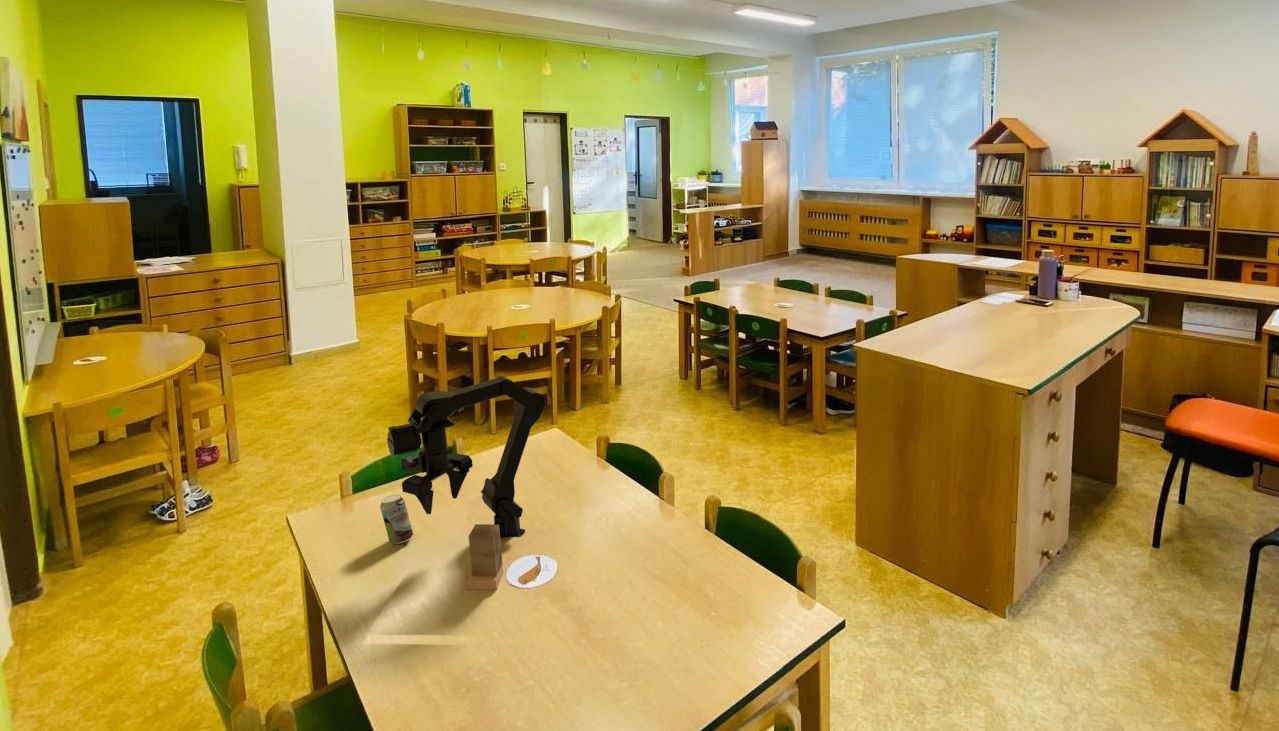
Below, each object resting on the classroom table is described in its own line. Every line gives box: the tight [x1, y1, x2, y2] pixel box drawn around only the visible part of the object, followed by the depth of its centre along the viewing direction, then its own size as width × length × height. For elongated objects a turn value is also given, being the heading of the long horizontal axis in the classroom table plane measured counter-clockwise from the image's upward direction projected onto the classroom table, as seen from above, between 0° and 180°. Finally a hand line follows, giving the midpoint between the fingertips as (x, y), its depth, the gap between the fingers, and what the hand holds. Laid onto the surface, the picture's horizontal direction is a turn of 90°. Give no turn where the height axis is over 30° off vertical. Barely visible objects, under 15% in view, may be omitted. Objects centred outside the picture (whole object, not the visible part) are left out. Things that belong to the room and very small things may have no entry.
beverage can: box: [379, 494, 414, 545], centre depth 195 cm, size 6×7×12 cm
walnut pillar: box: [468, 523, 503, 576], centre depth 173 cm, size 6×6×10 cm
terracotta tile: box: [464, 563, 504, 591], centre depth 174 cm, size 7×7×2 cm
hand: (441, 505), depth 186 cm, fingers open, 9 cm apart
